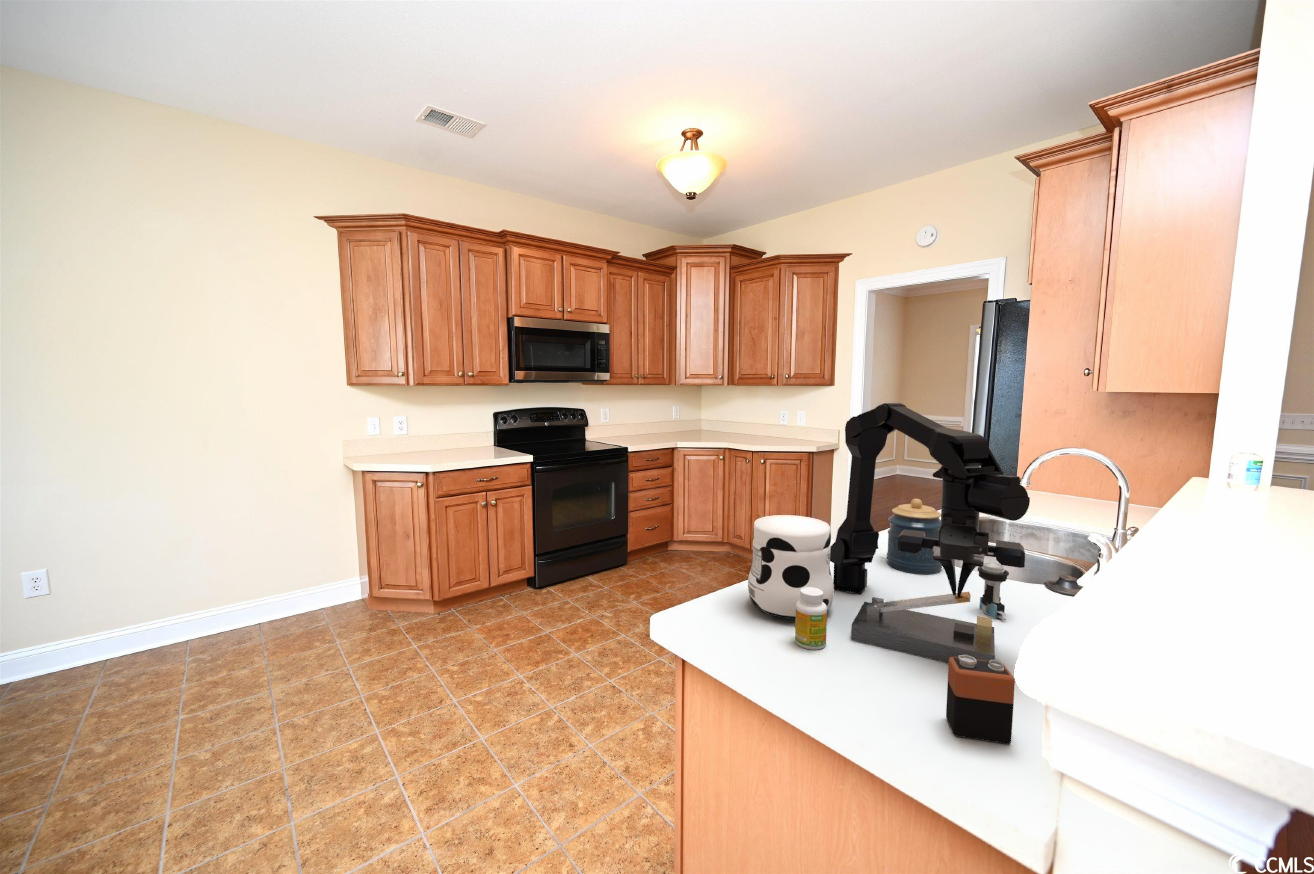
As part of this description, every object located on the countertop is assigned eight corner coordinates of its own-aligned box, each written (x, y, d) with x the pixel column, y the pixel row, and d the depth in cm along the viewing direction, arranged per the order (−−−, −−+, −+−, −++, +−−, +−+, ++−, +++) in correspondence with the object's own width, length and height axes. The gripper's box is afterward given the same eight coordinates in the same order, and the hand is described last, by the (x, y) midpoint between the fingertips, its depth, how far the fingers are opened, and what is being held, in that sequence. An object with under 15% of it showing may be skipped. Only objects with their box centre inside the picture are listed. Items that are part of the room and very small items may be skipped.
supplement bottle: (809, 653, 92) (811, 599, 91) (788, 640, 97) (789, 588, 96) (832, 646, 95) (834, 593, 94) (811, 633, 99) (812, 583, 99)
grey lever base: (851, 640, 97) (852, 608, 96) (864, 615, 107) (865, 587, 107) (993, 673, 85) (995, 637, 85) (993, 643, 96) (995, 610, 95)
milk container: (847, 606, 112) (849, 522, 110) (809, 635, 99) (811, 540, 97) (773, 586, 123) (775, 510, 122) (731, 609, 110) (732, 524, 109)
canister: (886, 555, 145) (888, 492, 143) (940, 561, 140) (943, 495, 138) (886, 570, 133) (889, 501, 132) (945, 578, 128) (948, 506, 126)
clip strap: (871, 614, 99) (869, 608, 99) (874, 608, 102) (872, 602, 102) (970, 603, 90) (968, 596, 90) (971, 597, 93) (968, 590, 93)
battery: (944, 717, 74) (948, 649, 73) (1000, 725, 72) (1004, 655, 71) (953, 737, 70) (957, 664, 69) (1012, 746, 68) (1016, 671, 67)
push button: (1017, 622, 104) (1020, 572, 103) (990, 622, 104) (992, 572, 103) (995, 607, 111) (997, 561, 110) (969, 608, 111) (972, 561, 110)
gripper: (894, 510, 89) (891, 600, 91) (1029, 524, 80) (1024, 624, 81) (903, 498, 99) (900, 580, 100) (1025, 509, 89) (1020, 600, 90)
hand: (956, 595), depth 93 cm, fingers closed
